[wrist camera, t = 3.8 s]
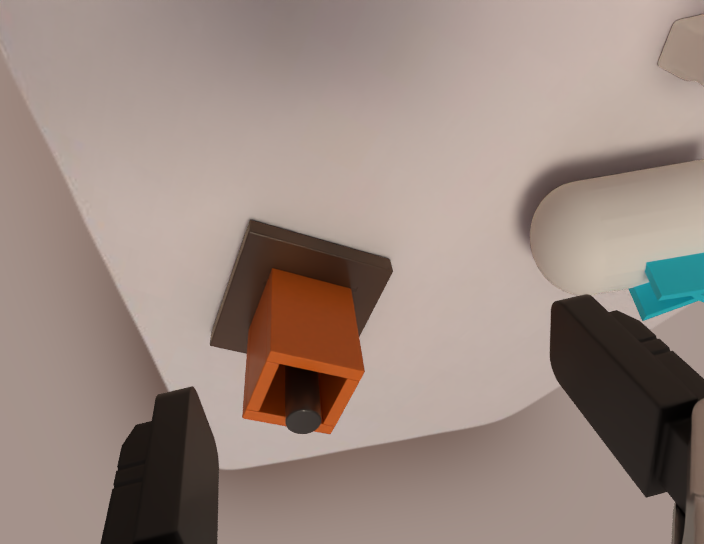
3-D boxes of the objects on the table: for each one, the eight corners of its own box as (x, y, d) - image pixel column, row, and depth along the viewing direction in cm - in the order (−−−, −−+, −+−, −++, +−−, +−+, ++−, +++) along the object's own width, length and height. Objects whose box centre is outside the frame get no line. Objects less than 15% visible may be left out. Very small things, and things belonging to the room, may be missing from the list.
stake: (211, 332, 43) (191, 464, 33) (249, 219, 38) (239, 336, 28) (338, 360, 46) (353, 489, 36) (390, 259, 41) (423, 378, 31)
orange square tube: (248, 330, 41) (241, 418, 34) (272, 267, 38) (270, 350, 32) (323, 347, 43) (330, 435, 36) (351, 288, 40) (365, 371, 33)
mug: (578, 295, 31) (802, 256, 31) (526, 165, 35) (720, 132, 35) (537, 375, 41) (706, 346, 41) (500, 266, 46) (652, 239, 46)
